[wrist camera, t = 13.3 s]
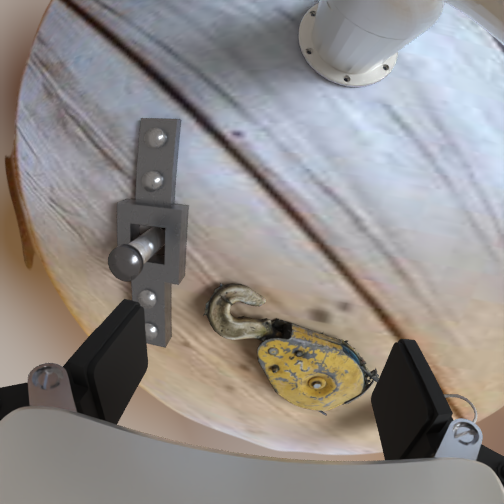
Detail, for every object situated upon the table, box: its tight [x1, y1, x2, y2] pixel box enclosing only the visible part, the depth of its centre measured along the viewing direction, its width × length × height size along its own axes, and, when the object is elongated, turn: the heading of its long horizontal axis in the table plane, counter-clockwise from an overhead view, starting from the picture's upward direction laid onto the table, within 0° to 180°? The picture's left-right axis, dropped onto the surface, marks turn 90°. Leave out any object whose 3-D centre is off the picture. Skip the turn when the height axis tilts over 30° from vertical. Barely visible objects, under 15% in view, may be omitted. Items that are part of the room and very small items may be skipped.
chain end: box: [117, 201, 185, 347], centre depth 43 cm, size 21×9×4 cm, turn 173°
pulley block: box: [203, 283, 379, 415], centre depth 44 cm, size 14×6×30 cm
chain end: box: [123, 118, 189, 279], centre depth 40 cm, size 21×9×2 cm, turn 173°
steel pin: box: [108, 227, 165, 281], centre depth 38 cm, size 4×4×10 cm
